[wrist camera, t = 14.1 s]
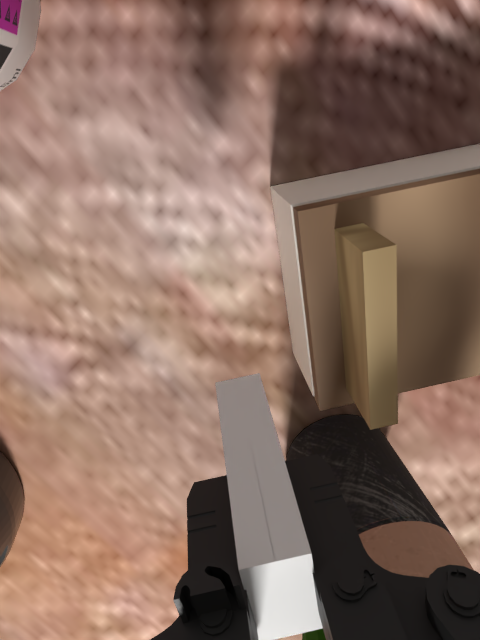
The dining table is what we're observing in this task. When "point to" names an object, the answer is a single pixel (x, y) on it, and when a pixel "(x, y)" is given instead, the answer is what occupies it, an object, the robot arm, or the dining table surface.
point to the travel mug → (381, 497)
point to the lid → (391, 291)
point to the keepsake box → (339, 187)
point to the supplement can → (17, 36)
